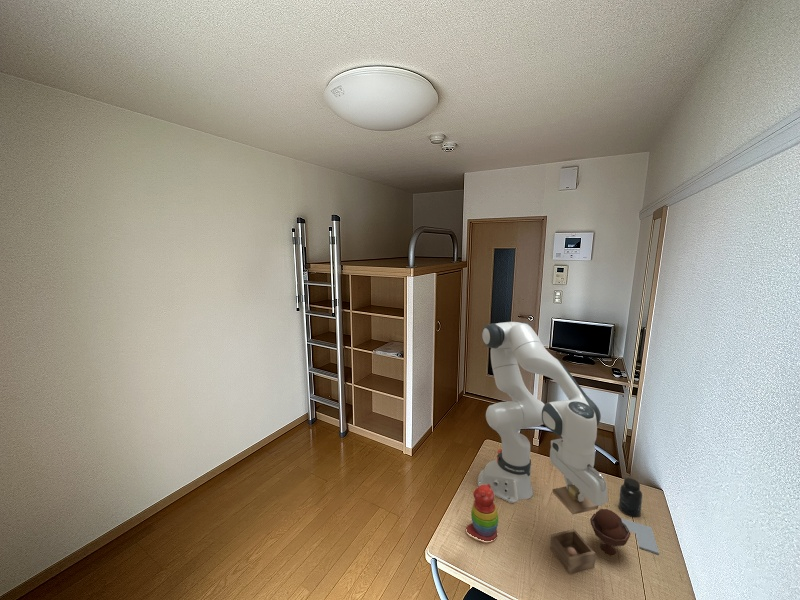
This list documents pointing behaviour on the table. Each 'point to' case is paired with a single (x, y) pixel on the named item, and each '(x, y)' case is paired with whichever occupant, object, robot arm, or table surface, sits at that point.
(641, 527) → the felt pad
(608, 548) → the ice cream bowl
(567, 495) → the lid
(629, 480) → the supplement bottle
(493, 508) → the stacking bear
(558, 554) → the walnut box
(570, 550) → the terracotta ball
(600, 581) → the table surface
